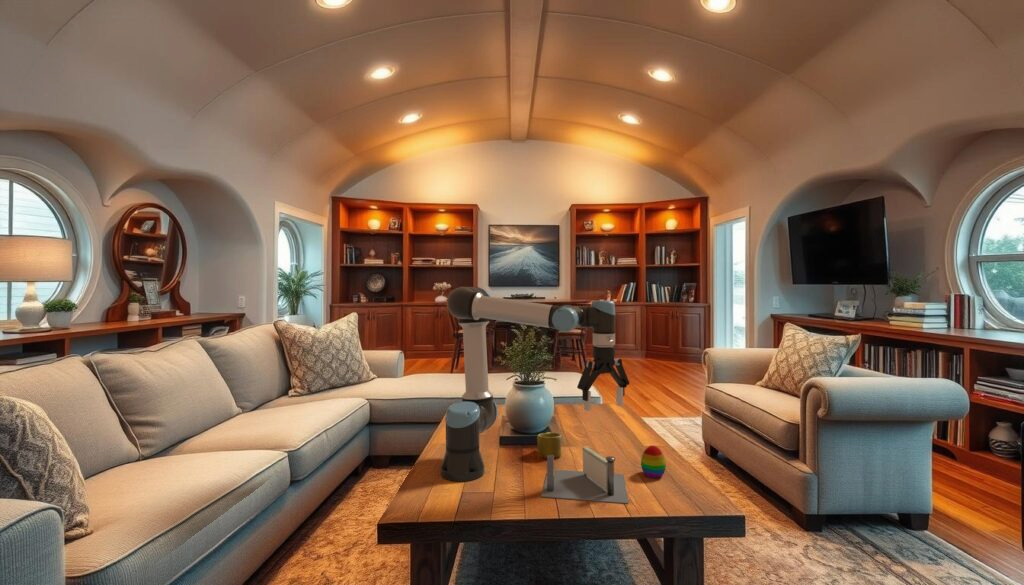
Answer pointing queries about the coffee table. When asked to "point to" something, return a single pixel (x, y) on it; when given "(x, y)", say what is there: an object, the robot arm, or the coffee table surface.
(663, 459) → the decorative egg
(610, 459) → the hinge post
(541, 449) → the mug
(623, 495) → the mat
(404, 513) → the coffee table surface
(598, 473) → the gate
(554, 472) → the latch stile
